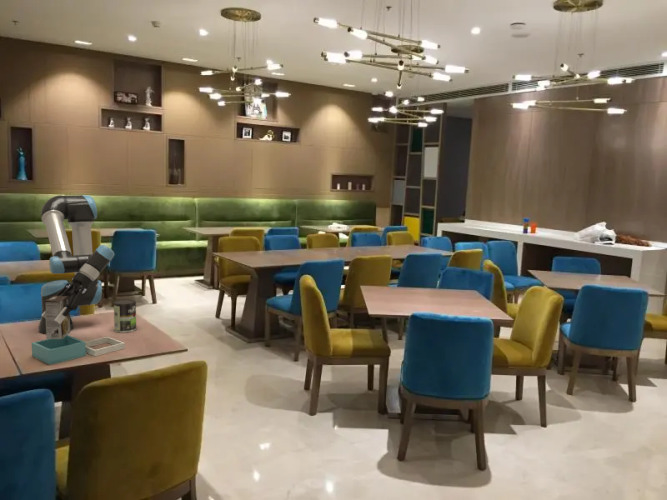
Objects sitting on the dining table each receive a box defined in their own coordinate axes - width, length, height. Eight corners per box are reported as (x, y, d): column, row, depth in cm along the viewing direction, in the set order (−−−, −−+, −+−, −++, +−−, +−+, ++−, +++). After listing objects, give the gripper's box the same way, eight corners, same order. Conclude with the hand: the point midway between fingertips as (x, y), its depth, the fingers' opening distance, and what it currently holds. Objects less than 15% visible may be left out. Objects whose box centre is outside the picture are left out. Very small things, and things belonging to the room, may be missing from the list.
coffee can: (140, 327, 277) (140, 299, 275) (129, 333, 267) (128, 304, 265) (122, 325, 279) (121, 298, 277) (109, 331, 269) (108, 303, 267)
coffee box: (55, 332, 236) (53, 295, 234) (71, 332, 236) (69, 295, 234) (45, 339, 227) (43, 300, 225) (62, 339, 227) (60, 300, 225)
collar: (77, 349, 243) (77, 343, 242) (107, 341, 254) (107, 336, 253) (94, 356, 234) (94, 350, 234) (124, 348, 245) (124, 342, 245)
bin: (32, 356, 232) (31, 342, 231) (67, 347, 244) (67, 334, 243) (49, 364, 223) (49, 350, 222) (85, 355, 235) (85, 341, 234)
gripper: (106, 285, 234) (71, 329, 224) (78, 278, 248) (44, 319, 237) (93, 274, 229) (57, 319, 219) (65, 268, 243) (30, 309, 233)
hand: (50, 319), depth 228 cm, fingers closed on coffee box, 10 cm apart
